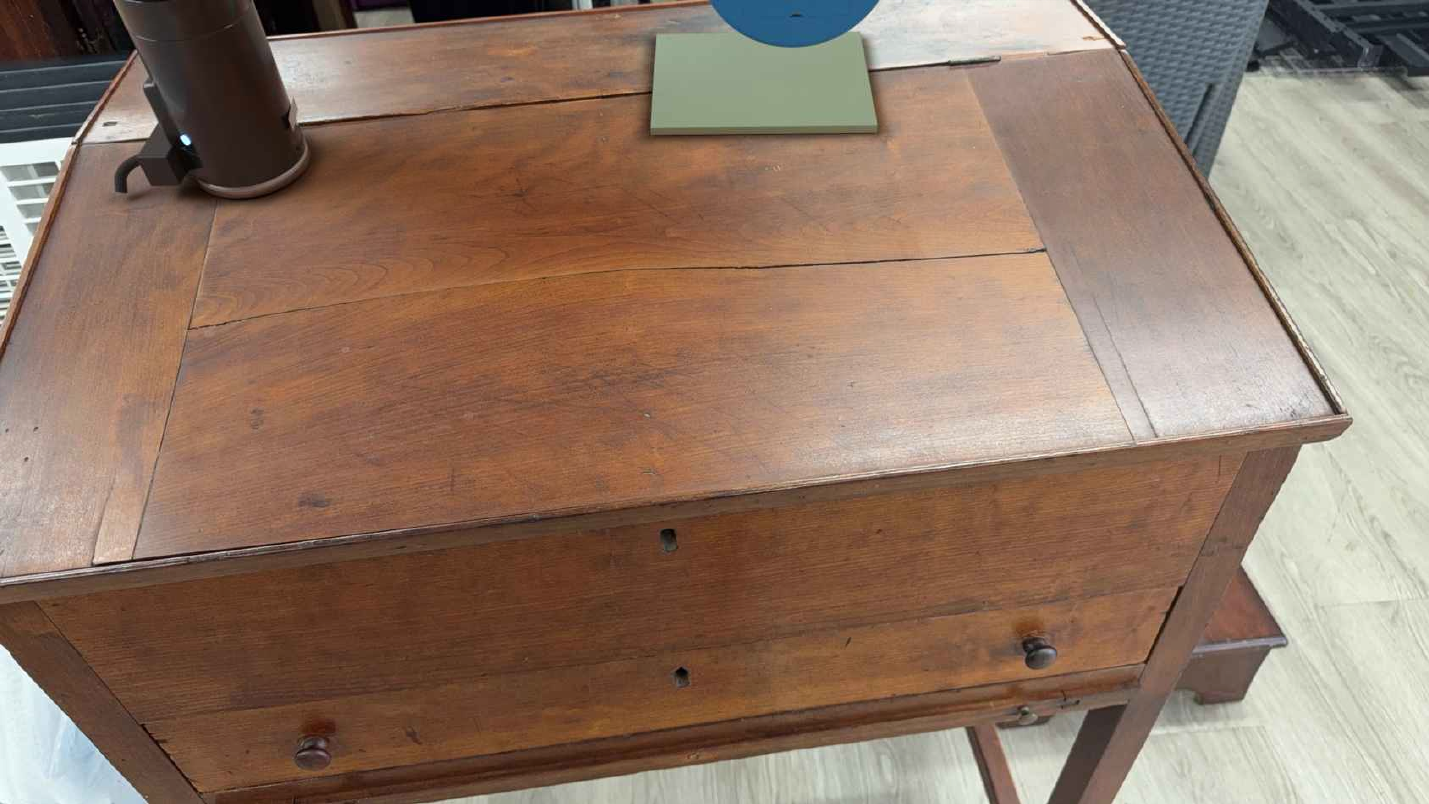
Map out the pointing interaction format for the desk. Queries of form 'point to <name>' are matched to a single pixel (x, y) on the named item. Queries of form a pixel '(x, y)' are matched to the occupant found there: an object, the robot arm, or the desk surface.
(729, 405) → the desk surface
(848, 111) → the mat
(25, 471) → the desk surface
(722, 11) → the alarm clock
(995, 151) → the desk surface
